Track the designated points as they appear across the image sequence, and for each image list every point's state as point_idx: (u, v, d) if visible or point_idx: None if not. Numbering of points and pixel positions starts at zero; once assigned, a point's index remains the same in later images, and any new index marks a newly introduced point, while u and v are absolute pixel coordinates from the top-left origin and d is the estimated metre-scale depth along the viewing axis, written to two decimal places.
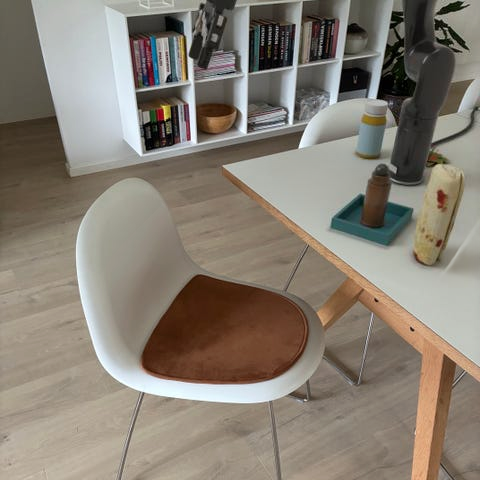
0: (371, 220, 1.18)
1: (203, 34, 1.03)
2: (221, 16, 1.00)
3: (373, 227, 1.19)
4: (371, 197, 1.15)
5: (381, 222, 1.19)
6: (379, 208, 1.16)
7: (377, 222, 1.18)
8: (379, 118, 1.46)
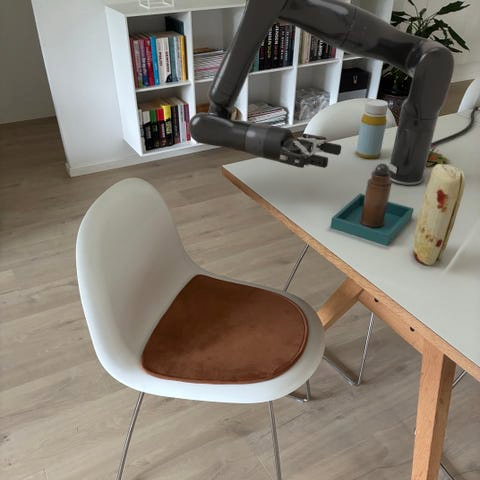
0: (371, 220, 1.18)
1: None
2: (280, 156, 1.15)
3: (373, 227, 1.19)
4: (371, 197, 1.15)
5: (381, 222, 1.19)
6: (379, 208, 1.16)
7: (377, 222, 1.18)
8: (379, 118, 1.46)
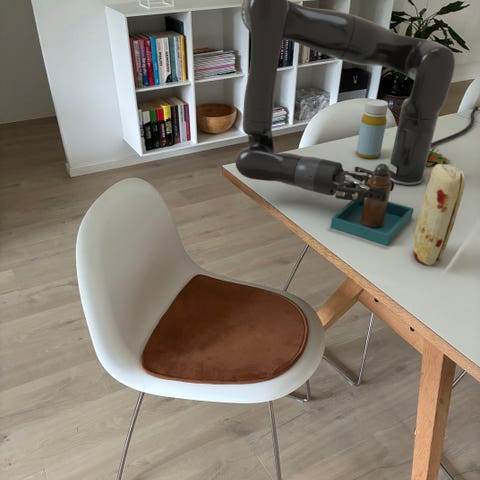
0: (371, 220, 1.18)
1: None
2: (336, 193, 1.14)
3: (373, 227, 1.19)
4: None
5: (381, 222, 1.19)
6: (379, 208, 1.16)
7: (377, 222, 1.18)
8: (379, 118, 1.46)
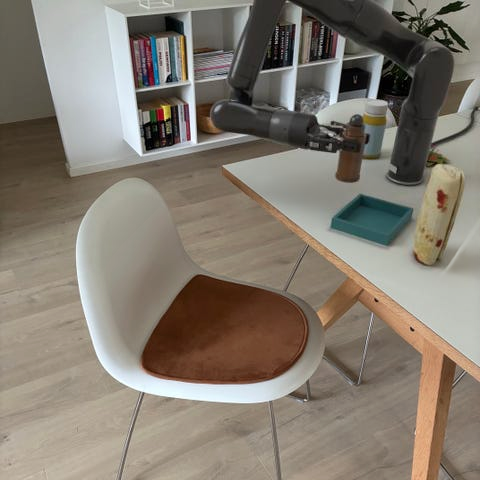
0: (346, 174, 1.16)
1: None
2: (310, 144, 1.12)
3: (348, 181, 1.17)
4: None
5: (356, 176, 1.17)
6: (353, 161, 1.14)
7: (352, 176, 1.16)
8: (379, 118, 1.46)
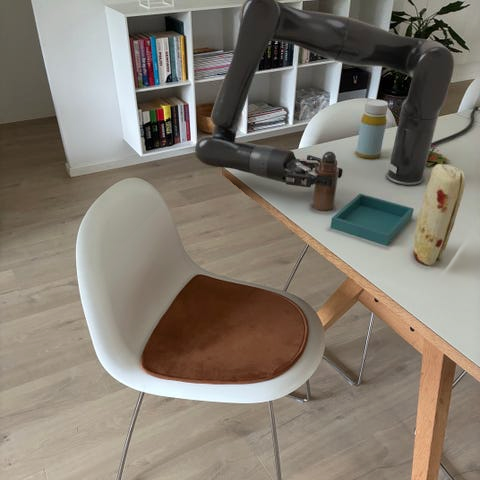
0: (321, 205, 1.25)
1: None
2: (286, 179, 1.20)
3: None
4: None
5: (330, 207, 1.25)
6: (327, 194, 1.23)
7: (326, 207, 1.25)
8: (379, 118, 1.46)
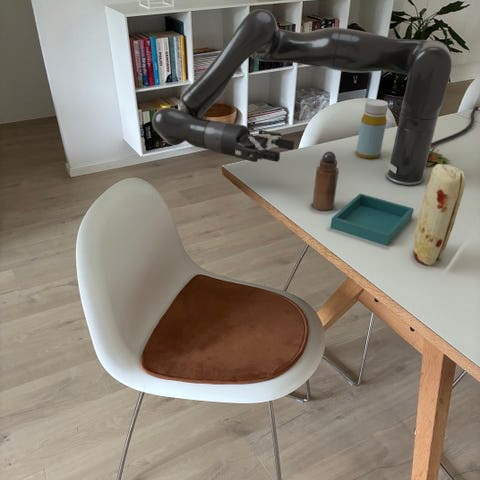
0: (321, 205, 1.25)
1: None
2: (235, 151, 1.22)
3: None
4: (319, 184, 1.22)
5: (330, 207, 1.25)
6: (327, 194, 1.23)
7: (326, 207, 1.25)
8: (379, 118, 1.46)
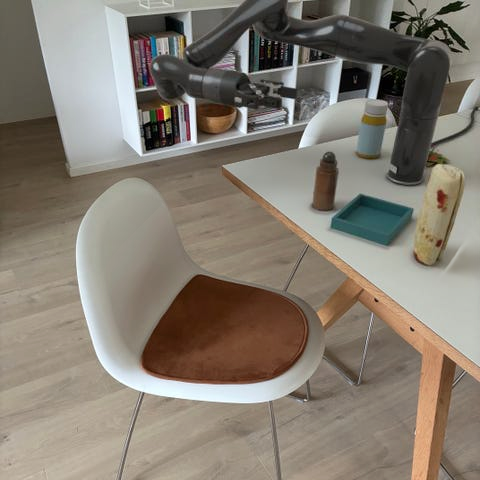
0: (321, 205, 1.25)
1: None
2: (234, 99, 1.16)
3: None
4: (319, 184, 1.22)
5: (330, 207, 1.25)
6: (327, 194, 1.23)
7: (326, 207, 1.25)
8: (379, 118, 1.46)
